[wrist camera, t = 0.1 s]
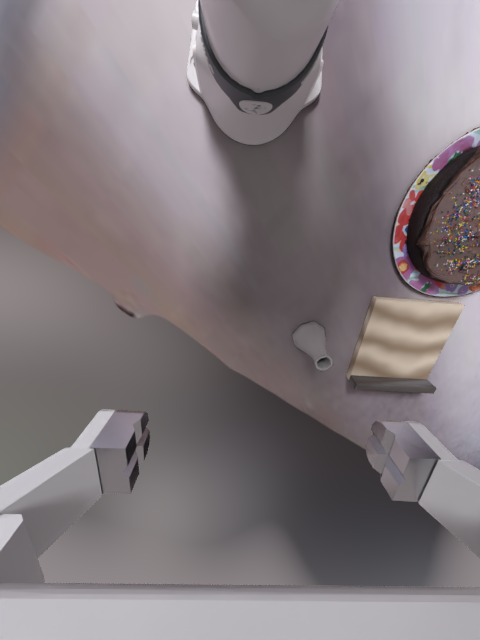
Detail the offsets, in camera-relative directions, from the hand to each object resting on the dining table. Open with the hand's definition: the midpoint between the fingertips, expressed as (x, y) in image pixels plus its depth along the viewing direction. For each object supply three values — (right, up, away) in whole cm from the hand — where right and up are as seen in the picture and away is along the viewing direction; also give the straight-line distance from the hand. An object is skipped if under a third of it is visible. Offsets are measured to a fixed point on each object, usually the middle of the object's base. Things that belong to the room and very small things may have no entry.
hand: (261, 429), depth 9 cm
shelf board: (+34, -1, +44) cm, 56 cm away
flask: (+14, 0, +43) cm, 45 cm away
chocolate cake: (+40, +22, +34) cm, 57 cm away
